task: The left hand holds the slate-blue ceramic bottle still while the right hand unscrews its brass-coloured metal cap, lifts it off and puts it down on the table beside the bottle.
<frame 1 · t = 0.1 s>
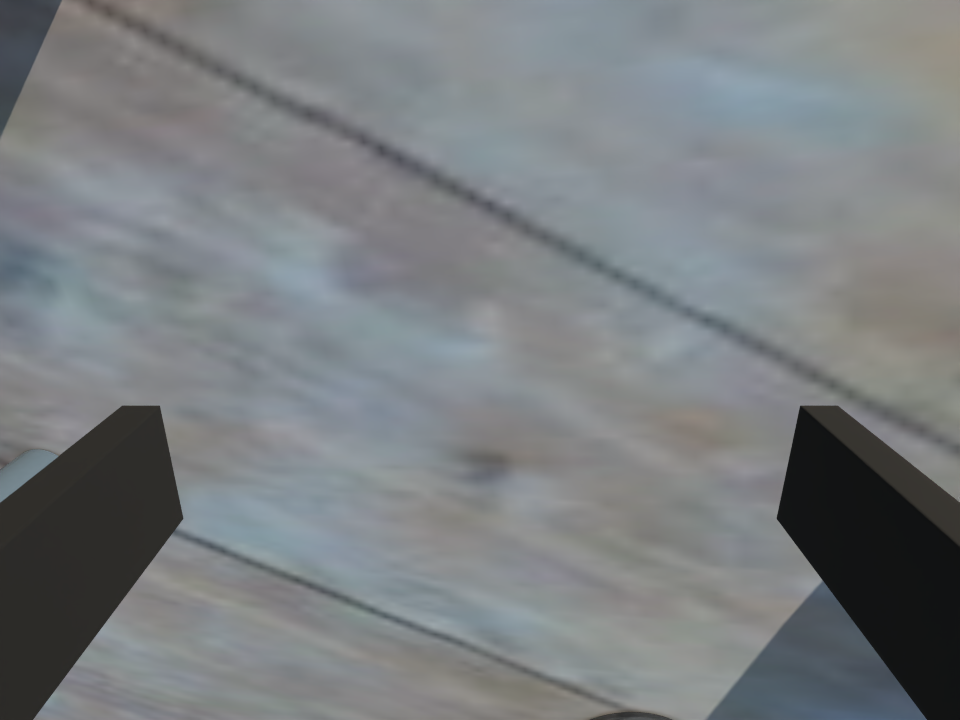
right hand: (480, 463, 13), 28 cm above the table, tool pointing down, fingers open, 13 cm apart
bottle: (44, 473, 45), on the table
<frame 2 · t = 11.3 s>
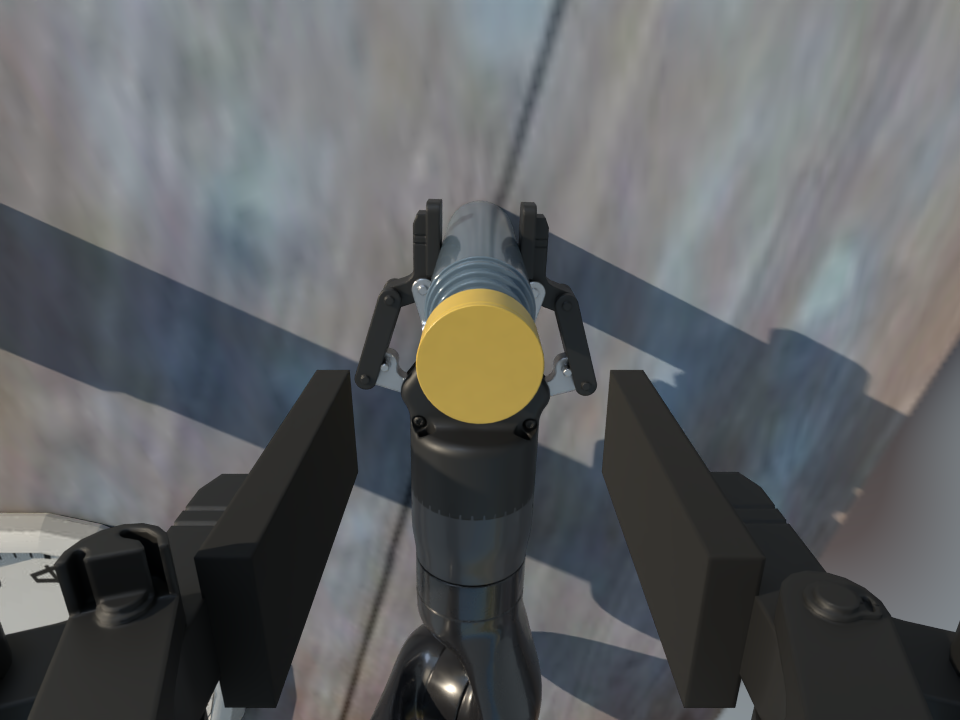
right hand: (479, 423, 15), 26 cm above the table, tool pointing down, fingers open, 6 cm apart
left hand: (481, 204, 32), fingers closed on bottle, 4 cm apart
wall clock: (71, 660, 52), on the table
cap: (480, 363, 18), point 22 cm above the table, screwed on, not yet turned
bottle: (480, 234, 39), on the table, touching left hand
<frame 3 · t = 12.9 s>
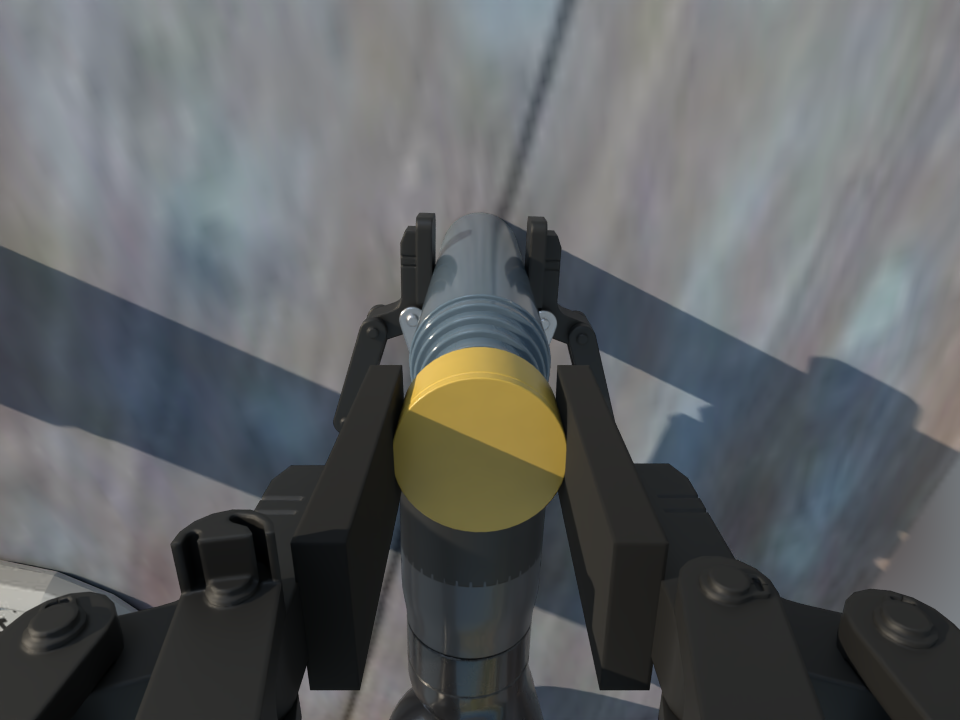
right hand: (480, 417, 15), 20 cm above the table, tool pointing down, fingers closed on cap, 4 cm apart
left hand: (481, 219, 27), fingers closed on bottle, 4 cm apart
wall clock: (28, 716, 47), on the table
cap: (479, 452, 13), point 22 cm above the table, screwed on, not yet turned, touching right hand
bottle: (479, 251, 34), on the table, touching left hand
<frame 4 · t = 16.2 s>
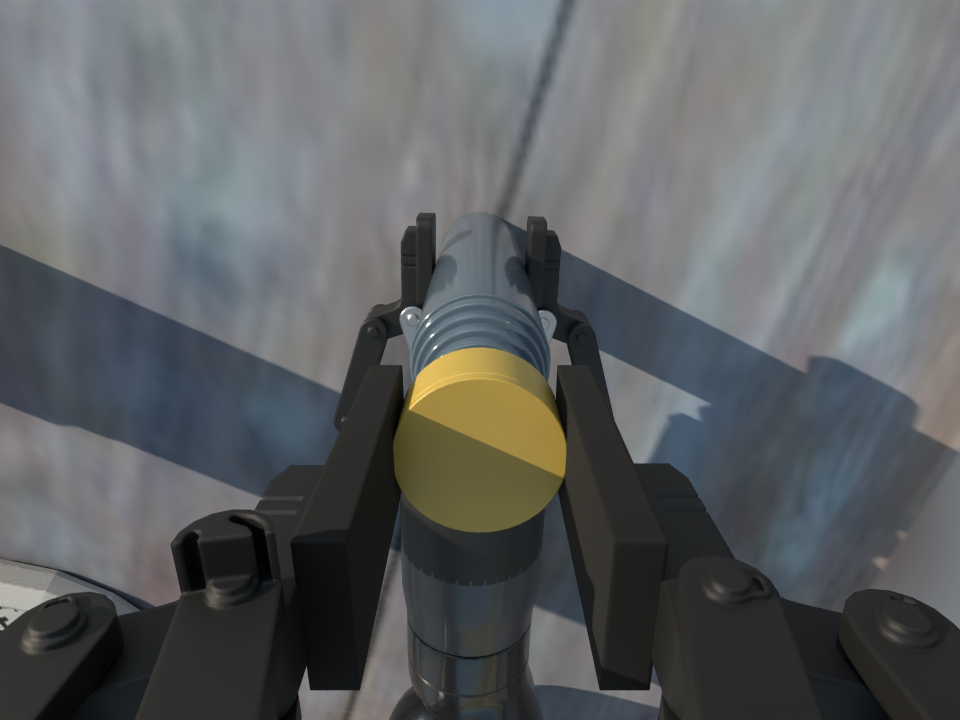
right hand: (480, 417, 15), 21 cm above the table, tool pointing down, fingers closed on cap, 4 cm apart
left hand: (481, 219, 27), fingers closed on bottle, 4 cm apart
wall clock: (29, 715, 47), on the table
cap: (479, 452, 13), point 22 cm above the table, turned 121° so far, risen 0.1 cm, still on its thread, touching right hand
bottle: (479, 251, 34), on the table, touching left hand
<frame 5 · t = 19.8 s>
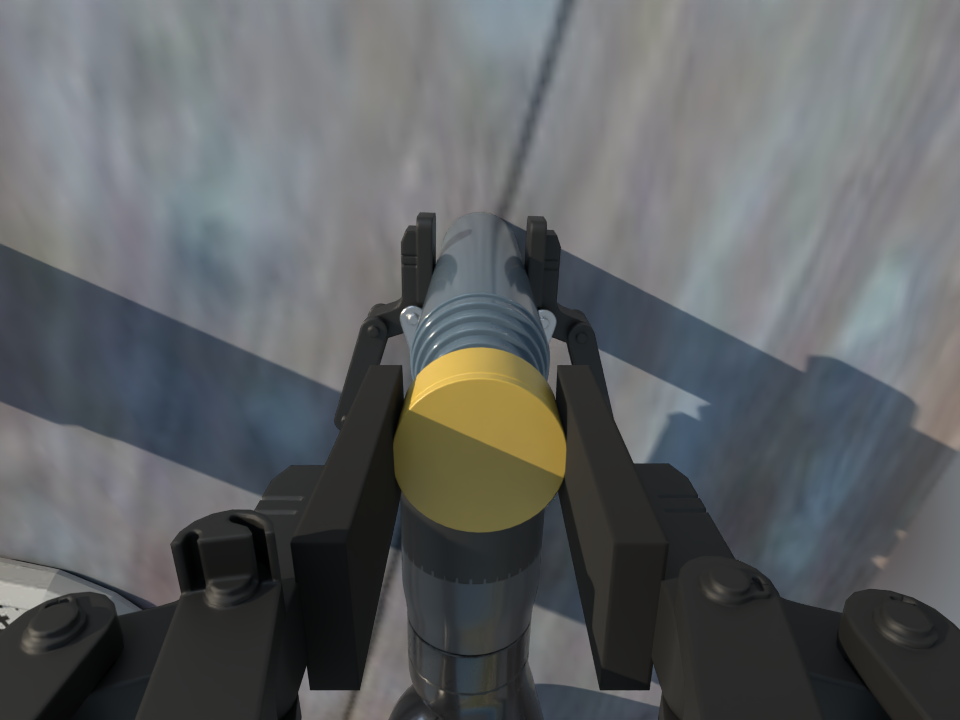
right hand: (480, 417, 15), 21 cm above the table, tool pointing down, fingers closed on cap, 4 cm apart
left hand: (481, 218, 27), fingers closed on bottle, 4 cm apart
wall clock: (30, 713, 47), on the table
cap: (479, 452, 13), point 22 cm above the table, turned 242° so far, risen 0.2 cm, still on its thread, touching right hand
bottle: (479, 250, 34), on the table, touching left hand
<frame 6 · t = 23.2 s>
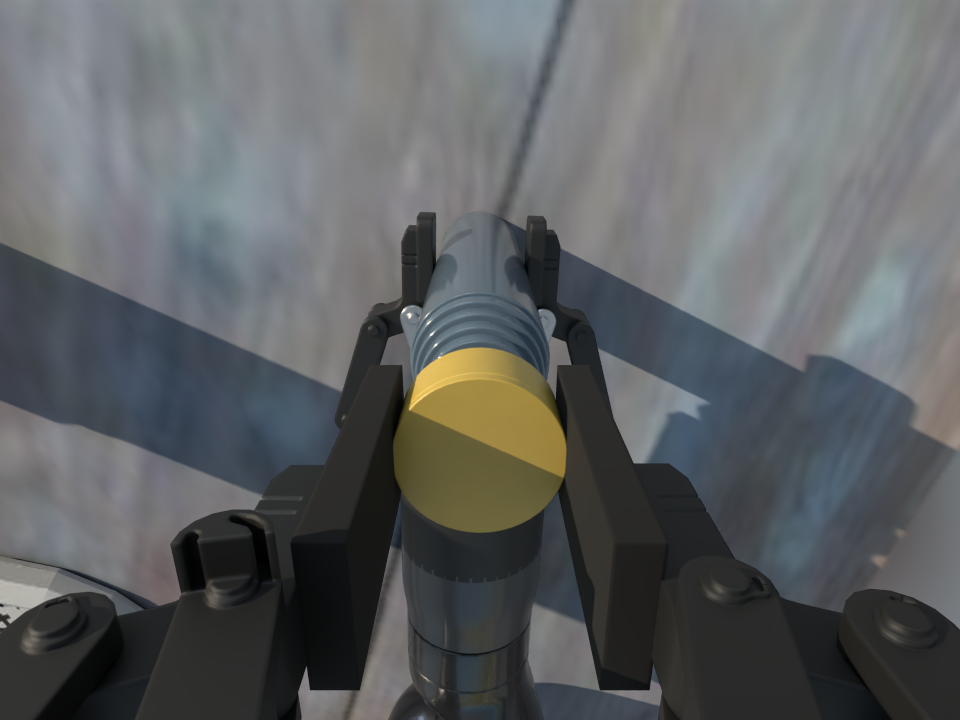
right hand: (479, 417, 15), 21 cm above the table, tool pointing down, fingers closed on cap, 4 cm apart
left hand: (481, 218, 27), fingers closed on bottle, 4 cm apart
wall clock: (31, 712, 47), on the table
cap: (479, 452, 13), point 22 cm above the table, turned 363° so far, risen 0.3 cm, still on its thread, touching right hand
bottle: (479, 250, 34), on the table, touching left hand
when the right hand's fingers open (2 cm above the table, at t = 31.4 s): cap drops 2 cm, point 2 cm above the table.
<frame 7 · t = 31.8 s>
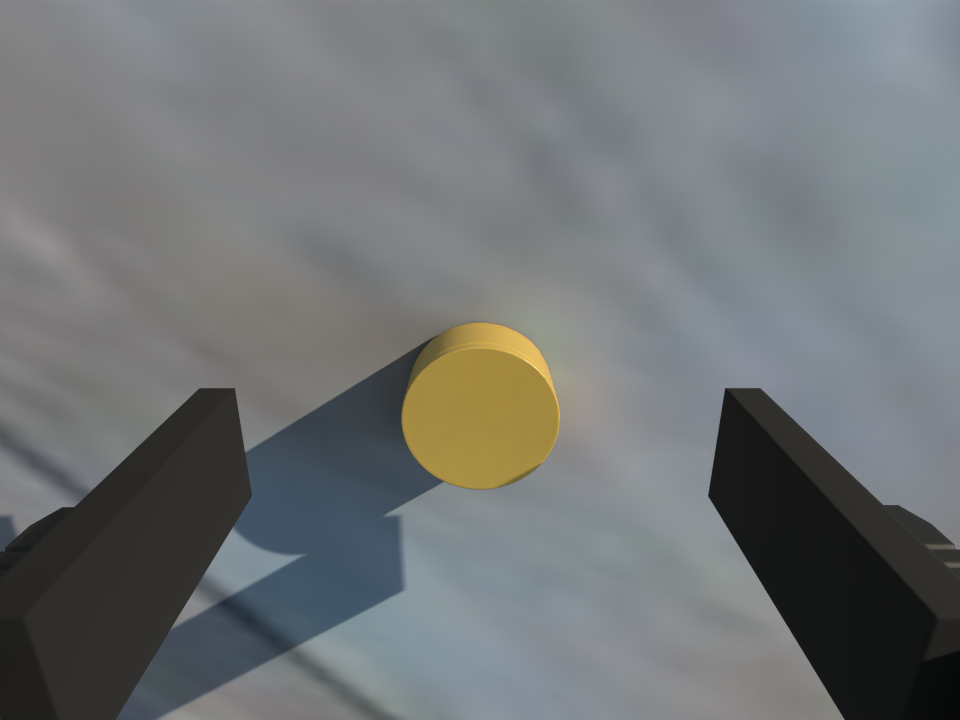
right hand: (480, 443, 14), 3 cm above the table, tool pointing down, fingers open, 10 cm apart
cap: (480, 416, 15), point 2 cm above the table, off its thread
when the left hand's fingers open (7 cm above the table, at t = 32.6 s): bottle stays where it is, on the table.
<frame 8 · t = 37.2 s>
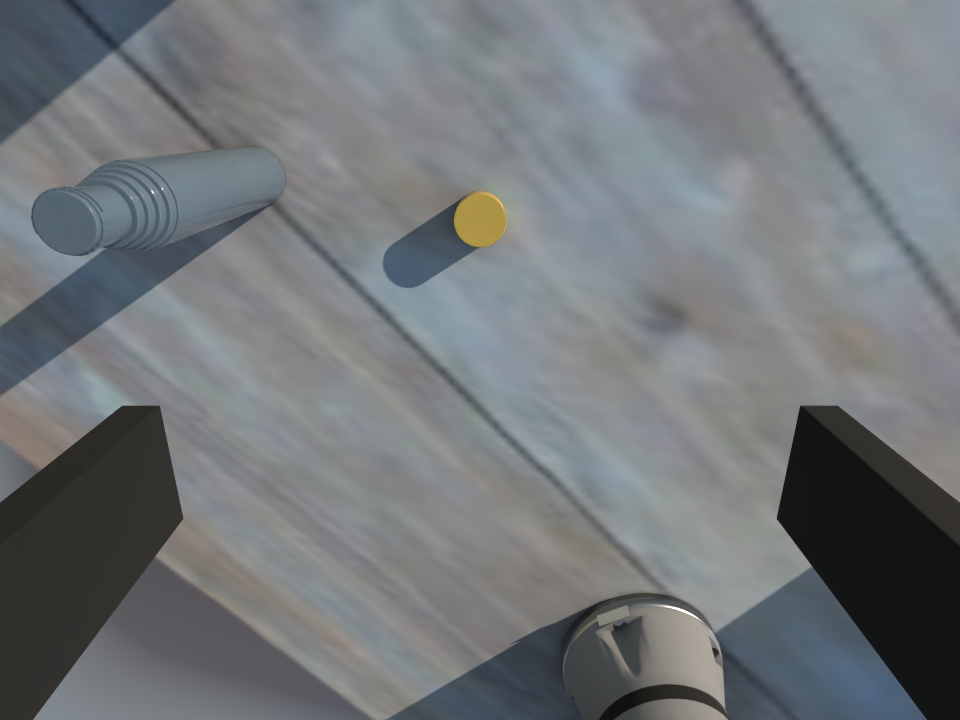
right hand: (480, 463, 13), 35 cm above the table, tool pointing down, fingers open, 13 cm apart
cap: (480, 220, 44), point 2 cm above the table, off its thread
bottle: (256, 176, 44), on the table
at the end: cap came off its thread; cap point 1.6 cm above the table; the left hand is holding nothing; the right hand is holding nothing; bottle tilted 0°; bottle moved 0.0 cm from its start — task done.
